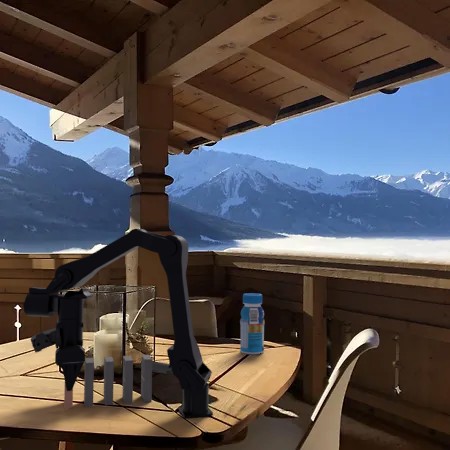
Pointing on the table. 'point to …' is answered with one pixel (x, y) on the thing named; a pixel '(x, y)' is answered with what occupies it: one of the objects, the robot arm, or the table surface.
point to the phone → (160, 368)
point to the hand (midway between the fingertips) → (69, 385)
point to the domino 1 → (68, 398)
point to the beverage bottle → (252, 324)
